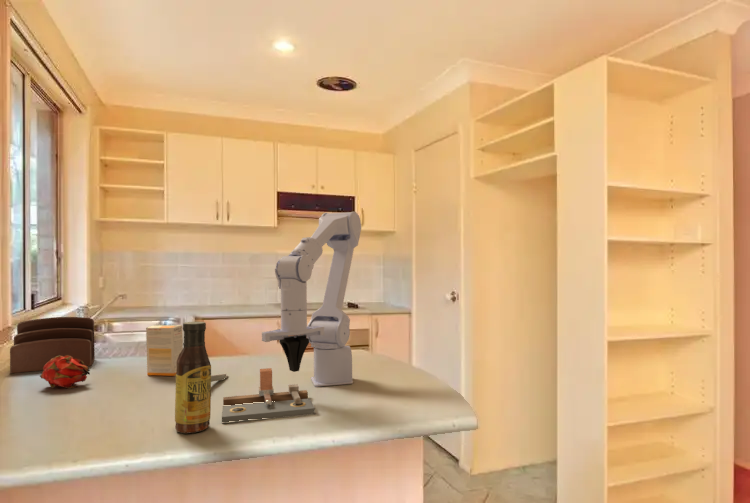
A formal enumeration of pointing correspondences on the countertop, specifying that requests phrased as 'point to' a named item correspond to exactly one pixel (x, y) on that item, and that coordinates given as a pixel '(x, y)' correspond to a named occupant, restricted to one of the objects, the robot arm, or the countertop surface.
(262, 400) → the rail
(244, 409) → the bolt plate
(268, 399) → the orange handled lever
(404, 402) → the countertop surface
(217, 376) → the caliper
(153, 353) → the supplement box
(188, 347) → the sauce bottle
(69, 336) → the letter holder
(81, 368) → the dragon fruit
